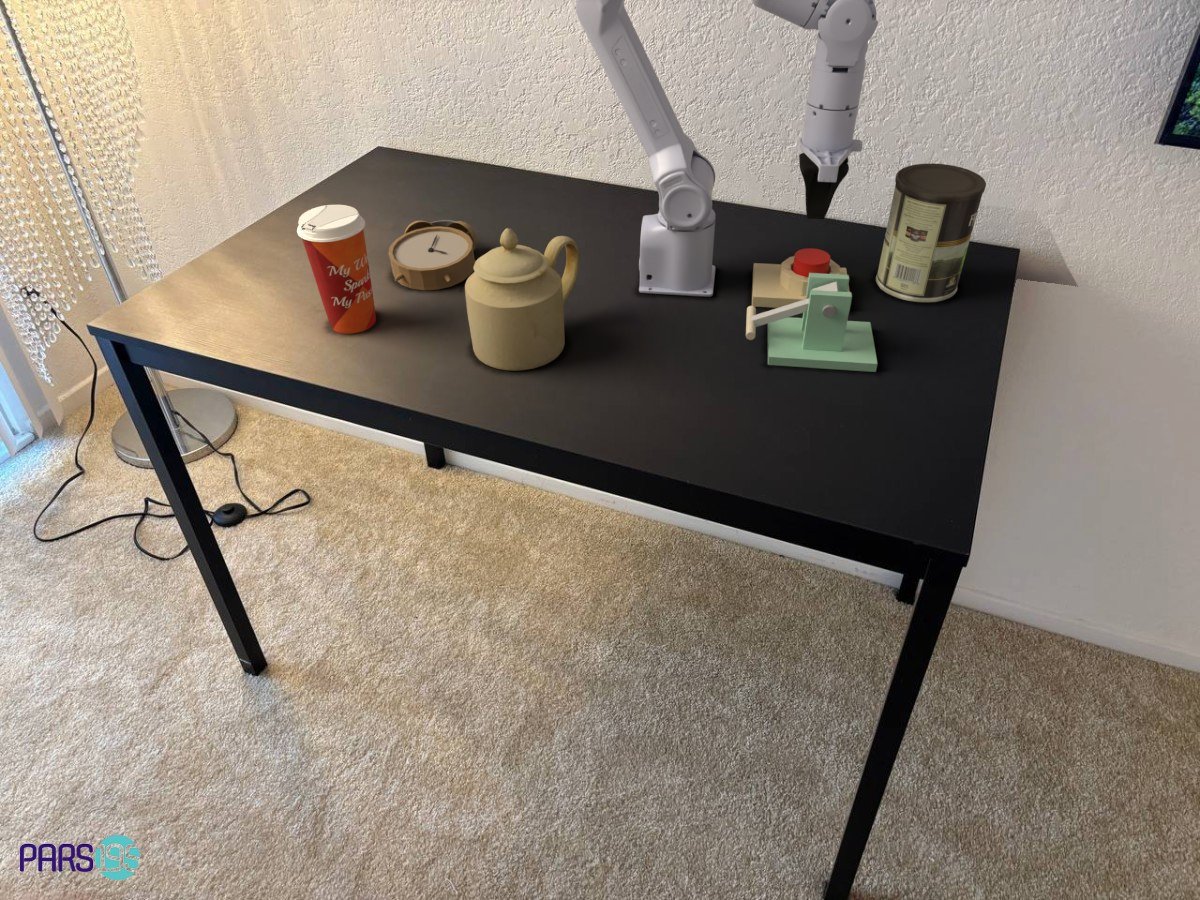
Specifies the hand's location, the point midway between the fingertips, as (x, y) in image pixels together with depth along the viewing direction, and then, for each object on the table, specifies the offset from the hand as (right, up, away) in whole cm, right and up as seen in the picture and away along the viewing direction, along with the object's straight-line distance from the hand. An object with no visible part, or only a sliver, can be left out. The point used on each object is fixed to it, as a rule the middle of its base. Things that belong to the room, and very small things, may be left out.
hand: (815, 216), depth 105 cm
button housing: (-1, -8, +6) cm, 10 cm away
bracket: (-1, -17, -5) cm, 17 cm away
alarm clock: (-49, -3, +13) cm, 51 cm away
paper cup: (-57, -13, +2) cm, 59 cm away
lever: (-4, -13, -6) cm, 15 cm away
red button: (0, -6, +4) cm, 7 cm away
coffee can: (+15, -7, +7) cm, 18 cm away
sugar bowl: (-36, -15, -2) cm, 39 cm away
